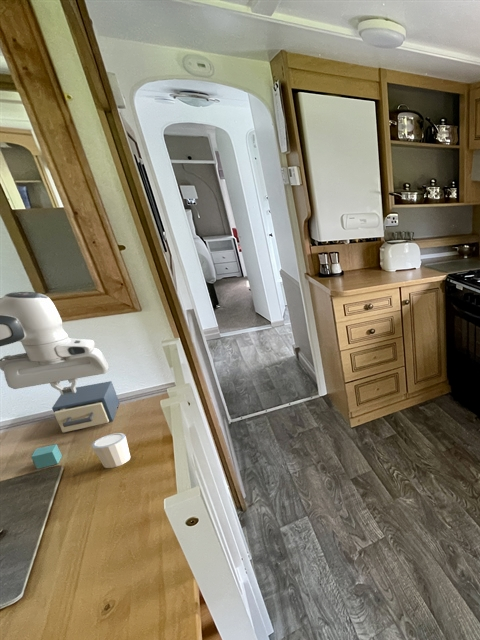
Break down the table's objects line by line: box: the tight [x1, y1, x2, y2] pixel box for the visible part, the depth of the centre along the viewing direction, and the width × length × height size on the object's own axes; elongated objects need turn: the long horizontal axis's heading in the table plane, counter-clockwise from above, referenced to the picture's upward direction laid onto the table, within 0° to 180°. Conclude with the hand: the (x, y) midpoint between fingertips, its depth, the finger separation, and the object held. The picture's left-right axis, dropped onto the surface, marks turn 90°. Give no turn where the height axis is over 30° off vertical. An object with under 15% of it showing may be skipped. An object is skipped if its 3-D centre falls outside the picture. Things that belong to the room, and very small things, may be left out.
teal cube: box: [30, 443, 63, 470], centre depth 101 cm, size 4×4×4 cm
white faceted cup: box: [90, 432, 131, 469], centre depth 101 cm, size 7×7×7 cm
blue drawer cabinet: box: [51, 380, 120, 423], centre depth 121 cm, size 14×12×9 cm
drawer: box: [53, 401, 110, 433], centre depth 117 cm, size 17×10×7 cm, turn 34°
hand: (69, 393), depth 110 cm, fingers closed
